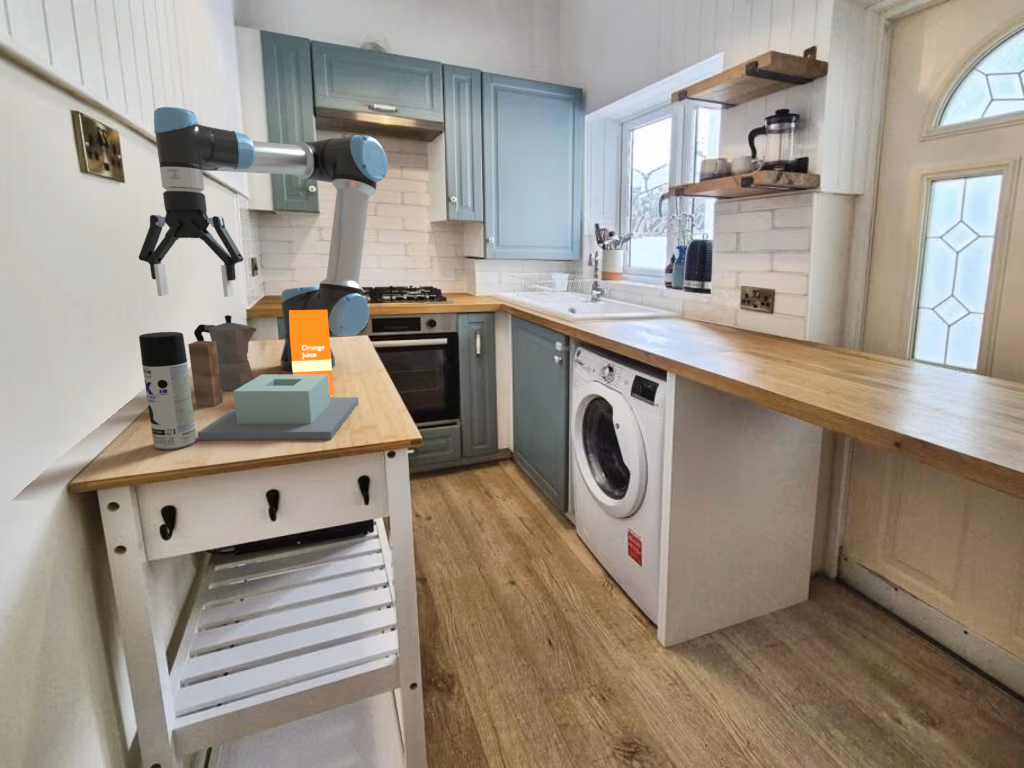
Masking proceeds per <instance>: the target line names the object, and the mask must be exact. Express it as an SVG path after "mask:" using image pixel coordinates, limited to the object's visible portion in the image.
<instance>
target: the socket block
mask: <svg viewBox="0 0 1024 768" xmlns="http://www.w3.org/2000/svg"><path fill="white" fill-rule="evenodd" d="M233 396H234V408H232V409H231V410H229V411H227V412H226V413H224V414H223V415H222V416H220V417H218V418H217V419H216V420H214V421H212V422H211V423H210V424H209V425H207V426H205V427H204V428H202V429H201V430H199V431H198V432H197V439H198V440H199V441H252V440H254V441H255V440H256V441H260V440H261V441H262V440H263V441H267V440H268V441H269V440H270V441H271V440H272V441H275V440H276V441H277V440H278V441H280V440H282V441H283V440H284V441H285V440H286V441H287V440H292V441H293V440H295V441H296V440H310V441H311V440H332V439H333V438H334V437H335V435H336V434H337V432H339V430H340V429H341V427H342V426H343V425H344V423H345V422H346V421H347V420H348V418H349V417H350V416H351V415H352V413H353V412H354V411H355V409H356V408H357V407H358V405H359V404H358V403H359V402H360V401H359V397H343V396H341V397H331V394H329V380H328V375H310V374H293V373H292V374H284V373H282V374H276V373H275V374H271V373H270V374H269V373H267V374H264V373H263V374H259V376H257V377H255V378H254V379H253V380H251V381H250V382H248V383H246V384H245V385H243V386H241V387H240V388H238V389H236V390H235V391H233ZM355 407H356V408H355ZM352 411H353V412H352ZM349 415H350V416H349Z"/></svg>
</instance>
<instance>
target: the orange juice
mask: <svg viewBox="0 0 1024 768" xmlns="http://www.w3.org/2000/svg"><path fill="white" fill-rule="evenodd" d="M289 322H290V343H291V355H292V369H293V371H292V374H310V375H328V380H329V395H333V394H334V386H333V385H334V384H333V369H332V368H333V367H332V365H331V353H330V347H331V341H330V339H331V337H330V334H329V327H328V312H327V310H289Z"/></svg>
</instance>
